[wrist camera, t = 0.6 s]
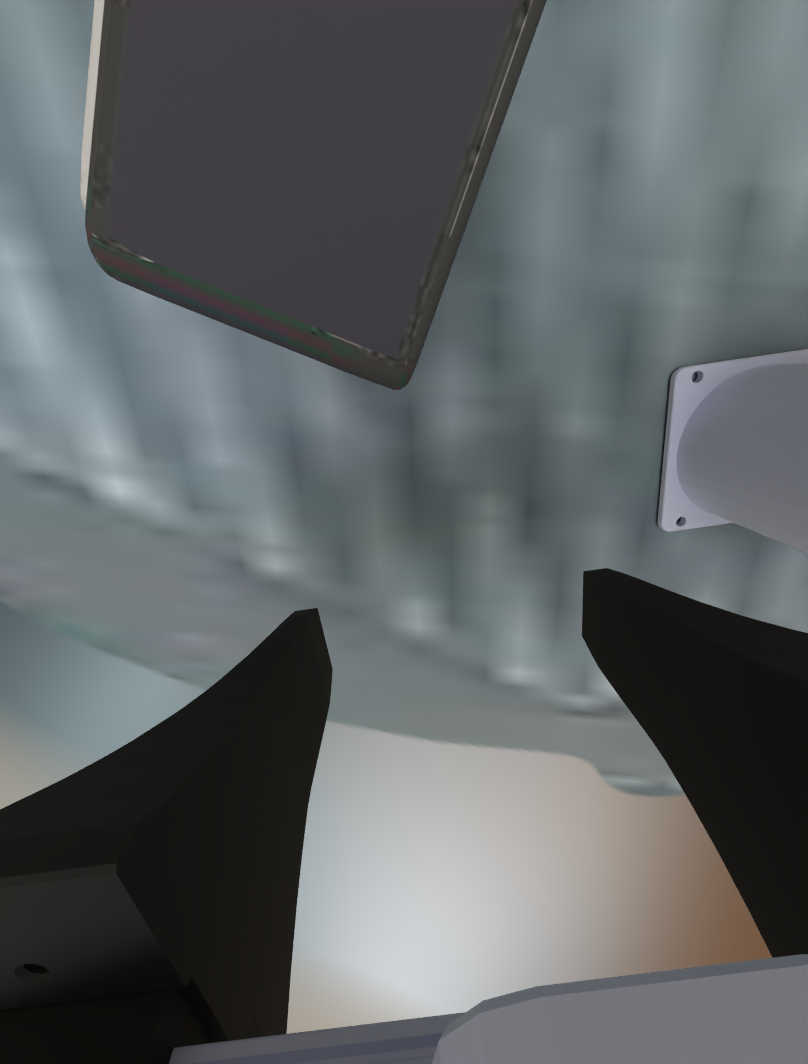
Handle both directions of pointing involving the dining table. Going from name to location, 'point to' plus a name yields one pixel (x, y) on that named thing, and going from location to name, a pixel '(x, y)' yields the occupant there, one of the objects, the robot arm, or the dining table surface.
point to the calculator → (297, 160)
